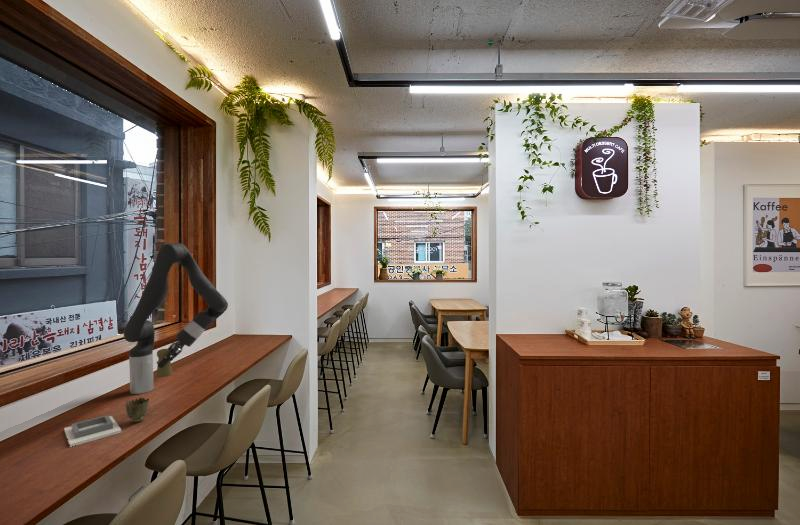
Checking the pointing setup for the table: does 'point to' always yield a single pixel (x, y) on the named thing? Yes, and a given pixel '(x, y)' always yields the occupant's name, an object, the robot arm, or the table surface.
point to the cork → (167, 368)
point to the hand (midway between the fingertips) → (158, 365)
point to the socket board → (91, 430)
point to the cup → (137, 409)
